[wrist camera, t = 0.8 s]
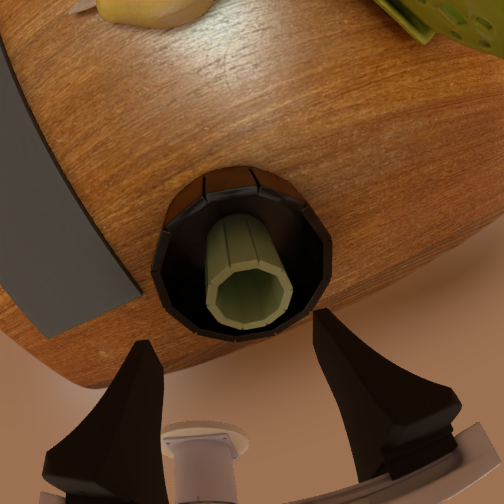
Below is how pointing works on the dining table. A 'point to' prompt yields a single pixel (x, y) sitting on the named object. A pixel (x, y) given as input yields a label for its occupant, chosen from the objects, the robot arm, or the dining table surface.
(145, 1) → the fruit
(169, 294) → the large pot
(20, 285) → the mat
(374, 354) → the robot arm
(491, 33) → the flower pot
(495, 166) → the dining table surface
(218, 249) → the small pot
